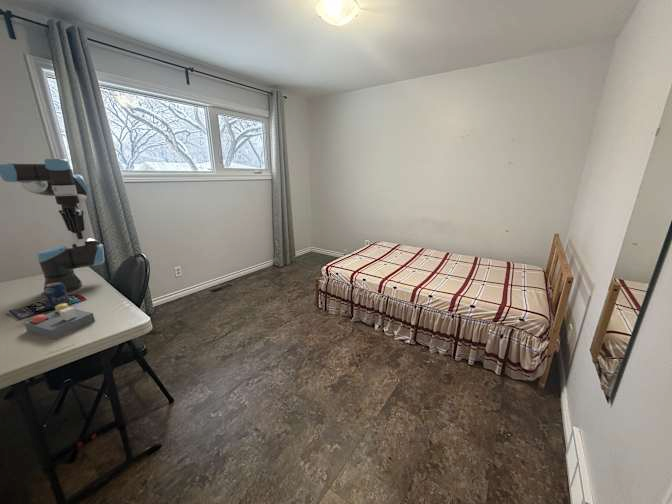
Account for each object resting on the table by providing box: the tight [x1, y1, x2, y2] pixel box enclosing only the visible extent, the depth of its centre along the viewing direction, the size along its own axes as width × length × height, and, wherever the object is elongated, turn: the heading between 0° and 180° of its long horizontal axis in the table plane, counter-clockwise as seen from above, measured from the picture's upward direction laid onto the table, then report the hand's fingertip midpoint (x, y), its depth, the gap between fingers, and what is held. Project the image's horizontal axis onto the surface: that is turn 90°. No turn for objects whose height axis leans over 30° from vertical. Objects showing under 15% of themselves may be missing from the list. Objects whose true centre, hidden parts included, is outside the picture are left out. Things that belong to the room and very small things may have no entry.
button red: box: [30, 313, 47, 324], centre depth 111 cm, size 4×4×3 cm
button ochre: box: [54, 303, 70, 314], centre depth 118 cm, size 4×4×3 cm
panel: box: [23, 308, 96, 340], centre depth 113 cm, size 18×14×4 cm
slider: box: [59, 306, 77, 321], centre depth 112 cm, size 3×4×4 cm
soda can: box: [43, 282, 71, 310], centre depth 129 cm, size 7×7×12 cm
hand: (80, 245), depth 127 cm, fingers closed
